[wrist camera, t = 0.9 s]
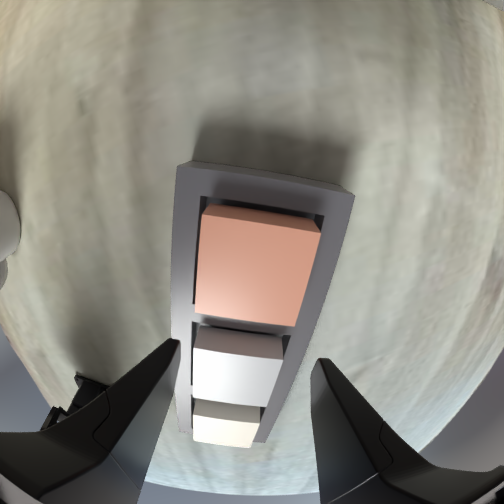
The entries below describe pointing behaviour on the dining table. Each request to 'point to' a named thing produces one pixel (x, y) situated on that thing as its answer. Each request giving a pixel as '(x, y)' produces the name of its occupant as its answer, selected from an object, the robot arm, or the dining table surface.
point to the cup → (7, 233)
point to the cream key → (225, 423)
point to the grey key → (235, 366)
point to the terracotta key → (254, 264)
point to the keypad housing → (186, 261)
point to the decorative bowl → (496, 3)
